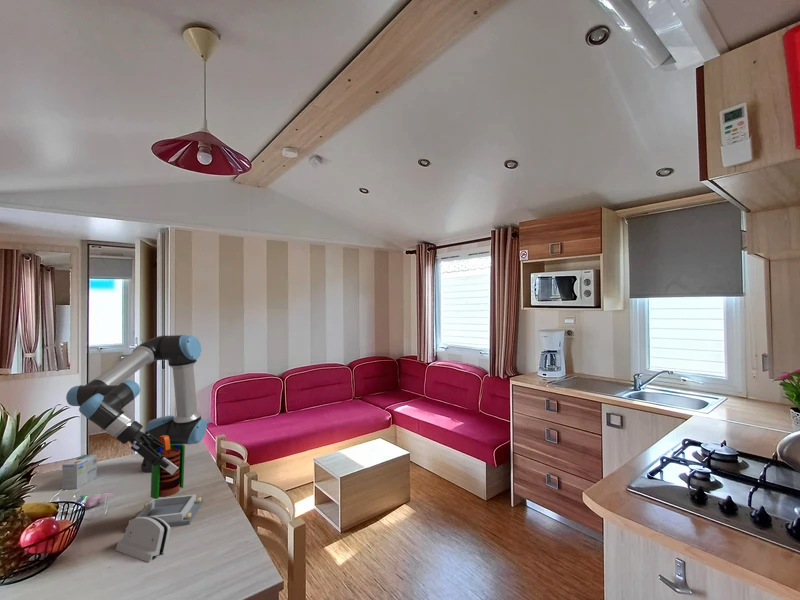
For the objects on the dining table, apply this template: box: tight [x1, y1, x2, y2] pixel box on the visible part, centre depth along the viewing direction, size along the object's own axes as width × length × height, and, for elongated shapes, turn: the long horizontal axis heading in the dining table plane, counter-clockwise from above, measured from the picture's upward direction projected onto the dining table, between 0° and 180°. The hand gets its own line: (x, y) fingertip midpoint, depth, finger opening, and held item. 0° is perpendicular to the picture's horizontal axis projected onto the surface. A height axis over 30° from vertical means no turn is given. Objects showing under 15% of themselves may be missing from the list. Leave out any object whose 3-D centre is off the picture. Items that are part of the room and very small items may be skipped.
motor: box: [150, 435, 186, 499], centre depth 132 cm, size 10×9×20 cm
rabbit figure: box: [75, 492, 114, 509], centre depth 138 cm, size 6×6×15 cm
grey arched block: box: [115, 516, 172, 563], centre depth 114 cm, size 17×5×10 cm, turn 68°
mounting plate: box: [124, 493, 204, 532], centre depth 132 cm, size 15×20×4 cm
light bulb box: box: [61, 453, 98, 490], centre depth 159 cm, size 11×7×11 cm, turn 2°
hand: (177, 467), depth 133 cm, fingers closed on motor, 7 cm apart
